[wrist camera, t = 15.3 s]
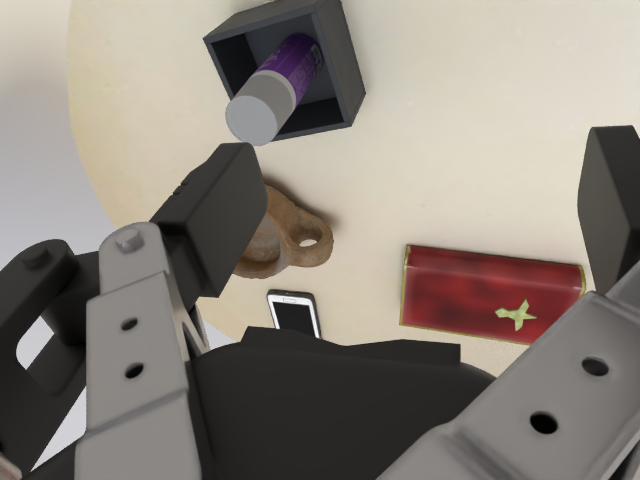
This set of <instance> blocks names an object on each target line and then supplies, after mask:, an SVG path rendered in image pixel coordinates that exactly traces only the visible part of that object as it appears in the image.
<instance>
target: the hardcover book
mask: <svg viewBox="0 0 640 480" xmlns="http://www.w3.org/2000/svg"><path fill="white" fill-rule="evenodd" d="M585 291H586V279H585V274H584V270H583V268H582V266H577V265H568V264H560V263H552V262H543V261H535V260H526V259H518V258H510V257H501V256H493V255H485V254H476V253H468V252H459V251H451V250H443V249H434V248H426V247H418V246H409V245H407V248H406V253H405V259H404V267H403V280H402V294H401V308H400V321H399V325H402V326H408V327H415V328H421V329H427V330H434V331H440V332H446V333H453V334H459V335H465V336H472V337H478V338H484V339H491V340H497V341H503V342H510V343H516V344H522V345H529V346H531V345H532V344H533V343H534V342H535V341H536V340H537V339H538V338H539V337H540V336H541V335H542V334H543V333H544V332H545V331H546V330H547V329H548V328H549V327H550V326H551V325H552V324H553V323H555V322H556V321H557V320H558V319H559V318H560V317H561V316H562V315H563V314H564V313H565V312H566V311H567V310H568V309H569V308H570V307H571V306H572V305H573V304H574V303H575V302H576V301H577V300H578V299H579V298H580V297H582V296H583V295H584V293H585Z"/></svg>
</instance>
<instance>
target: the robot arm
mask: <svg viewBox="0 0 640 480" xmlns="http://www.w3.org/2000/svg"><path fill="white" fill-rule="evenodd" d="M267 206H268V195H267V190H266V187H265V184H264V180H263V177H262V174H261V170H260V167H259V163H258V160H257V157H256V153H255V150H254V148H253V146H252V145H251V144H250V143H248V142H241V143H222V144H220V145H219V146H218V148H217V149H216V150H215V151H214V152H213V154H212V155H211V156H210V157H209V159H208V160H207V161H206V162H204V163H203V164H202V165H200V166H199V167H197V168H196V169H194V170H193V171H191V172H190V173H189V174H188V175H187V177H186V178H185V179H184V180H183V181H182V183H181V186H178V187H177V188H176V190H175V191H174V192H173V195H171V196H170V197H169V198H168V199H167V200H166V202H165V203H164V204H163V205H162V206H161V207H160V209H159V210H158V211H157V212H156V213H155V215H154V216H153V217H152V218H151V219H150V221H149V222H138V223H133V224H130V225H127V226H124V227H122V228H120V229H118V230H116V231H115V232H113V233H112V234H110V235H109V236H108V237H107V238H106V239H105V240H104V241H103V242H102V244H101V245H100V248H99V251H95V252H90V253H85V254H80V255H74V253H73V251H72V250H71V248H70V247H69V245H68V244H67V243H66V242H65V241H64V240H60V239H53V240H46V241H43V242H40V243H37V244H35V245H33V246H31V247H29V248H27V249H25V250H24V251H22V252H21V253H19V254H18V255H17V256H16V257H14V258H13V259H12V260H11V261H10V262H9V263H8V264H7V265H6V266H5V267H4V268H3V269H2V270H1V271H0V480H640V139H639V137H638V135H637V133H636V131H635V129H634V127H633V126H632V125H627V126H605V127H592V128H591V129H590V131H589V135H588V139H587V144H586V150H585V155H584V161H583V167H582V172H581V178H580V183H579V189H578V201H577V207H578V217H579V221H580V225H581V229H582V233H583V238H584V242H585V246H586V250H587V254H588V258H589V263H590V267H591V271H592V275H593V279H594V283H595V288H596V291H593V290H592V291H589V292H587V293H585V294H584V295H583V296H582V297H580V298H579V299H578V300H577V301H576V302H575V303H574V304H573V305H572V306H571V307H570V308H569V309H568V310H567V311H566V312H565V313H564V314H563V315H562V316H561V317H560V318H559V319H558V320H557V321H556V322H555V323H553V324H552V325H551V326H550V327H549V328H548V329H547V330H546V331H545V332H544V333H543V334H542V335H541V336H540V337H539V338H538V339H537V340H536V341H535V342H534V343H533V344H532V345H531V346H530V347H529V348H528V349H527V350H526V351H525V352H523V353H522V354H521V355H520V356H519V357H518V358H517V359H516V360H515V361H514V362H513V363H512V364H511V365H510V366H509V367H508V368H507V369H506V370H505V371H504V372H503V373H502V374H501V375H500V376H499V377H498V378H496V377H494V376H493V375H491V374H489V373H487V372H486V371H483V370H481V369H479V368H476V367H474V366H472V365H469V364H466V363H463V362H461V344H453V343H441V342H429V341H417V340H406V339H400V340H392V341H384V342H376V343H367V344H359V345H351V346H342V345H338V344H335V343H332V342H329V341H326V340H323V339H320V338H317V337H314V336H311V335H308V334H305V333H302V332H299V331H296V330H288V329H276V328H264V327H253V326H248V327H247V329H246V331H245V333H244V335H243V338H242V340H241V342H237V343H232V344H229V345H224V346H221V347H218V348H215V349H213V350H211V349H210V346H209V342H208V339H207V336H206V332H205V328H204V325H203V322H202V318H201V314H200V311H199V309H198V307H197V305H196V303H195V302H196V301H197V299H198V297H199V296H200V297H215V298H219V296H220V294H221V292H222V291H223V289H224V287H225V285H226V283H227V282H228V280H229V278H230V276H231V275H232V273H233V271H234V269H235V267H236V266H237V264H238V262H239V260H240V258H241V257H242V255H243V253H244V251H245V250H246V248H247V246H248V244H249V242H250V241H251V239H252V237H253V235H254V233H255V232H256V230H257V228H258V226H259V225H260V223H261V221H262V219H263V217H264V216H265V214H266V211H267ZM39 316H41V317H42V318H43V319H44V321H45V322H46V323H47V324H48V326H49V327H50V328H51V329H52V331H53V332H54V333H55V334H54V335H53V336H52V337H51V339H50V340H49V341H48V343H47V344H46V345H45V346H44V348H43V349H42V350H41V352H40V353H39V354H38V356H37V357H36V358H35V359H34V361H33V362H32V363H31V364H30V366H29V367H28V368H27V370H25V368H24V367H23V366H22V365H21V364H20V363H19V362H18V360H17V357H16V349H17V345H18V342H19V340H20V339H21V338H22V336H23V335H24V334H25V333H26V332H27V330H28V329H29V328H30V327H31V326H32V324H33V323H34V322H35V321H36V320H37V318H38V317H39ZM85 386H86V390H87V393H86V399H87V400H86V402H87V403H86V406H87V407H86V408H87V409H86V412H87V413H86V414H87V415H86V416H87V417H86V422H87V423H86V431H85V433H84V435H83V436H82V437H80V438H79V439H77V440H76V441H74V442H73V443H72V444H70V445H69V446H67V447H66V448H64V449H63V450H61V451H60V452H59V453H57V454H56V455H54V456H53V457H52V458H50V459H49V460H47V461H46V462H44V463H43V464H41V465H40V466H38V467H37V468H36V469H34V470H33V471H31V470H32V468H33V467H34V465H35V463H36V462H37V460H38V459H39V457H40V456H41V454H42V453H43V451H44V449H45V448H46V446H47V445H48V443H49V442H50V440H51V439H52V437H53V436H54V434H55V433H56V431H57V429H58V428H59V426H60V425H61V423H62V422H63V420H64V418H65V417H66V416H67V414H68V412H69V411H70V409H71V407H72V406H73V405H74V403H75V402H76V400H77V398H78V397H79V395H80V394H81V392H82V391H83V389H84V388H85ZM30 471H31V472H30Z"/></svg>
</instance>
